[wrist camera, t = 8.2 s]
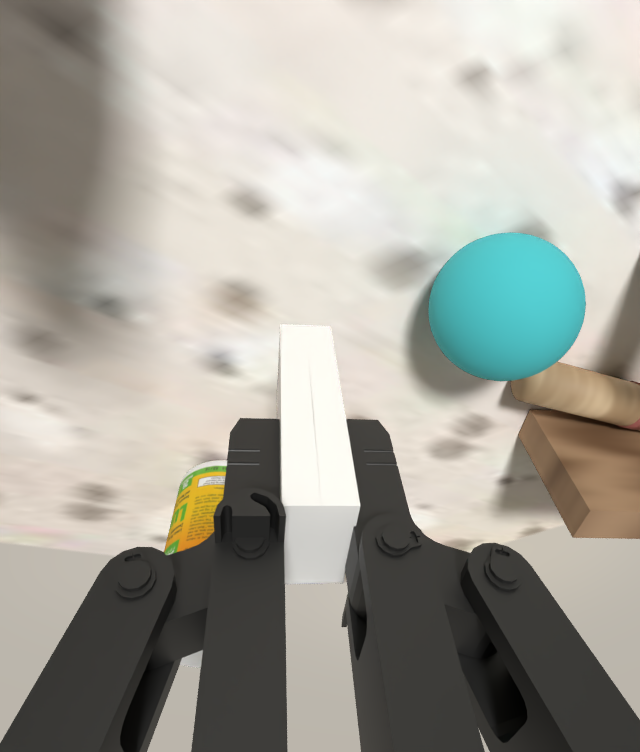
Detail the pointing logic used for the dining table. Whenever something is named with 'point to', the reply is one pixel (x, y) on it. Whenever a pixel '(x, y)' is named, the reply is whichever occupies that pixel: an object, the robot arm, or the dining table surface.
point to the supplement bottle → (196, 516)
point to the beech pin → (582, 394)
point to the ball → (506, 306)
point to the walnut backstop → (587, 471)
